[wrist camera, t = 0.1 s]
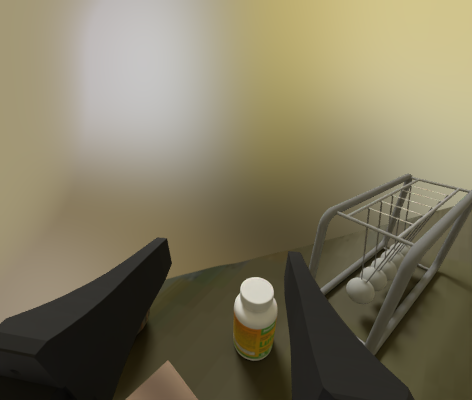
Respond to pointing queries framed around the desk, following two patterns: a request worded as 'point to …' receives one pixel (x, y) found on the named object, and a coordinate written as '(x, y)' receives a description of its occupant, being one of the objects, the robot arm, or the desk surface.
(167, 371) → the walnut cube
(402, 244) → the newton's cradle
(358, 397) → the robot arm
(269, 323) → the supplement bottle
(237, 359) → the desk surface
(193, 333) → the desk surface
